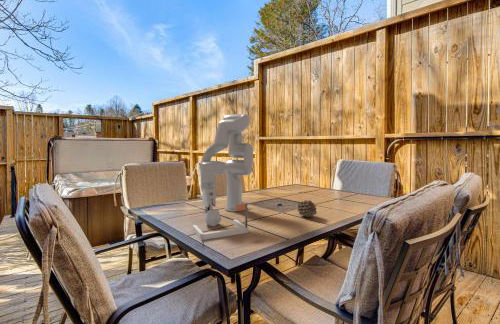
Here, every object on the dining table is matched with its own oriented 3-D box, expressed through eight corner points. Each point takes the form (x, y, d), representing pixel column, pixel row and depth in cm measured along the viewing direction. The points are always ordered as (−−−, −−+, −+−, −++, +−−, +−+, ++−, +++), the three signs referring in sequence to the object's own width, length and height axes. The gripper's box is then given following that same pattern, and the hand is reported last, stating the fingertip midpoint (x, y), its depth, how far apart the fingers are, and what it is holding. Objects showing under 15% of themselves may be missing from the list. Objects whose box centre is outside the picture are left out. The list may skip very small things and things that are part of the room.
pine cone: (322, 219, 155) (322, 201, 155) (308, 221, 151) (308, 203, 150) (298, 210, 175) (298, 194, 174) (285, 212, 171) (285, 196, 170)
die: (225, 226, 146) (221, 208, 151) (218, 221, 138) (214, 203, 143) (210, 231, 147) (207, 213, 152) (202, 227, 140) (199, 208, 145)
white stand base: (235, 224, 147) (235, 197, 146) (248, 232, 133) (248, 203, 132) (192, 230, 137) (191, 202, 136) (201, 240, 123) (200, 208, 122)
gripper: (219, 186, 145) (219, 221, 146) (210, 183, 158) (211, 214, 160) (205, 187, 142) (205, 223, 143) (197, 183, 155) (198, 216, 157)
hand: (208, 218), depth 151 cm, fingers closed
